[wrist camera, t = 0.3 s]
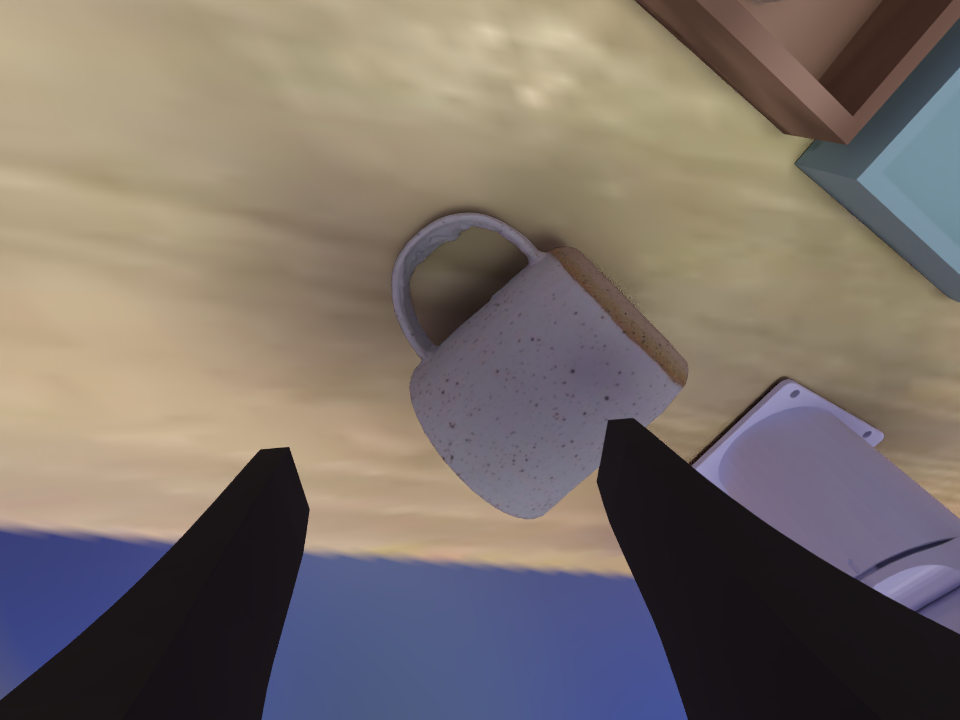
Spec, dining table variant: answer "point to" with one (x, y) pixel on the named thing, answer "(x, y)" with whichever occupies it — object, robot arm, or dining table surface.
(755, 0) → the letter block
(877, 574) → the robot arm
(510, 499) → the ceramic mug
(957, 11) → the walnut tray
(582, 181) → the dining table surface
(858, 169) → the teal tray
